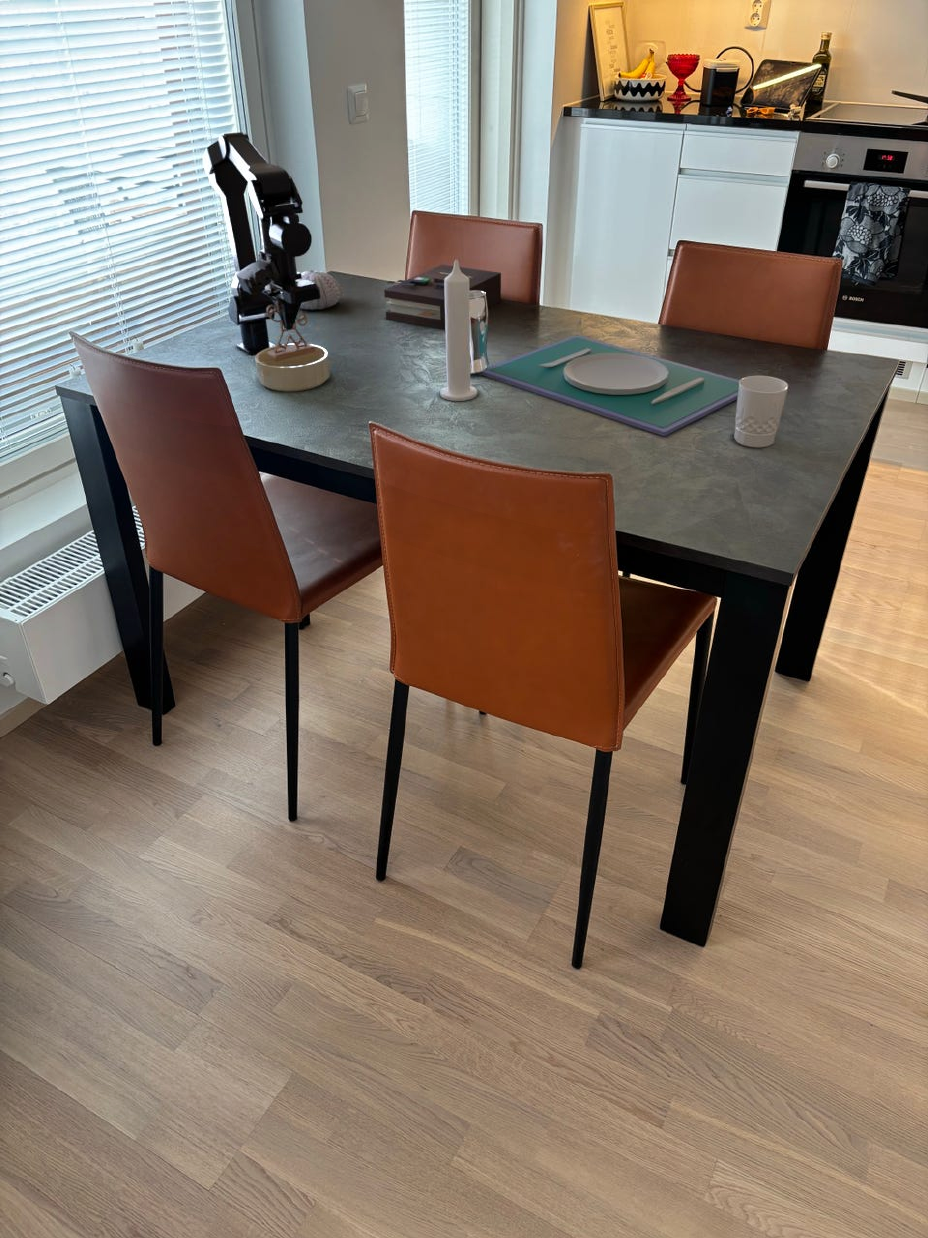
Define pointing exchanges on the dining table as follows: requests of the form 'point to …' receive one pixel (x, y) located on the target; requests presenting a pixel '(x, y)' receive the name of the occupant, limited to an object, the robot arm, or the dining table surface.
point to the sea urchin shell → (322, 290)
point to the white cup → (759, 410)
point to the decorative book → (435, 295)
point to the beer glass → (478, 332)
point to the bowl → (293, 370)
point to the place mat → (619, 383)
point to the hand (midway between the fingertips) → (288, 328)
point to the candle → (457, 337)
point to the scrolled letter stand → (290, 350)
